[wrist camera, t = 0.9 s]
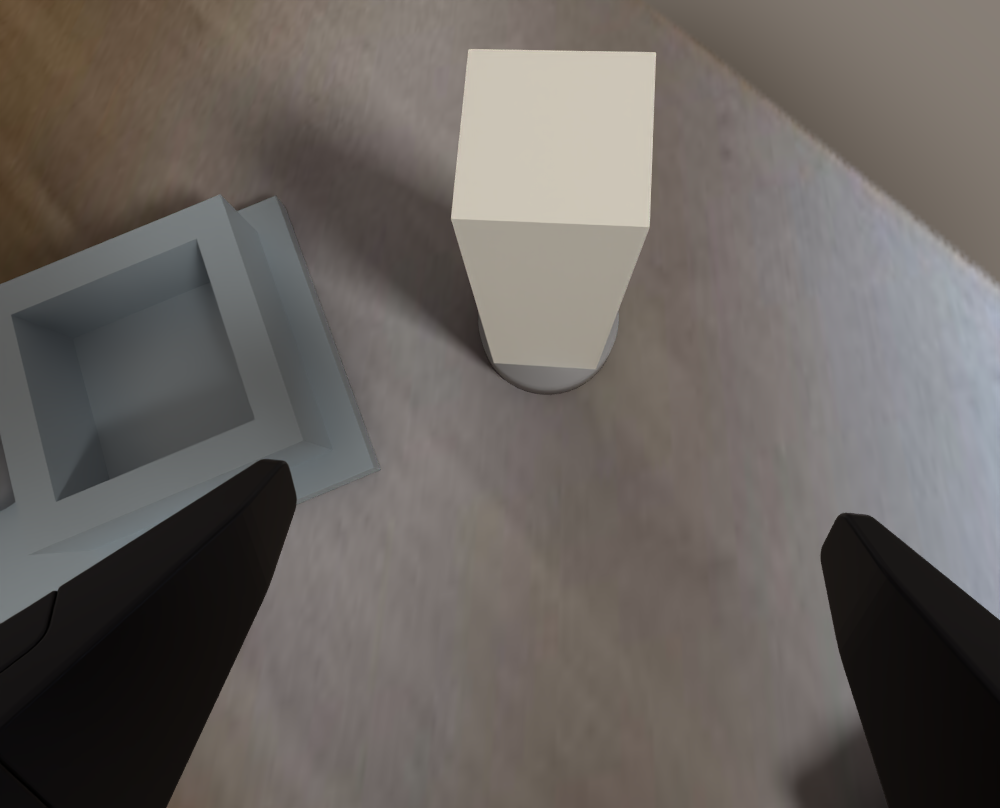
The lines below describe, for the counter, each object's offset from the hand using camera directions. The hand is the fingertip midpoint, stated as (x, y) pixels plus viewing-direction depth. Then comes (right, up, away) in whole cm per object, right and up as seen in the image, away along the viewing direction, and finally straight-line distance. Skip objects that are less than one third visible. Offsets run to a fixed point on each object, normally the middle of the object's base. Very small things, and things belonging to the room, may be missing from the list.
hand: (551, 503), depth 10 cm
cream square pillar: (+1, +5, +15) cm, 16 cm away
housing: (-17, +1, +16) cm, 23 cm away
